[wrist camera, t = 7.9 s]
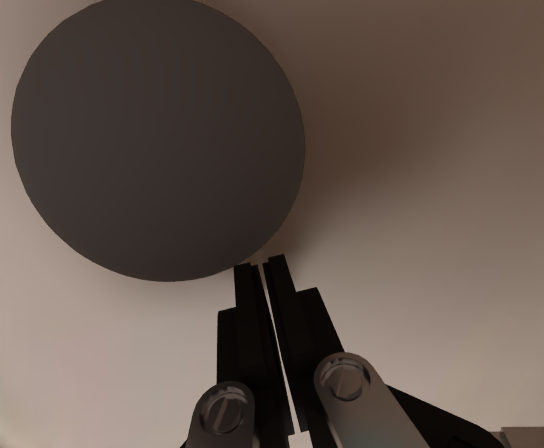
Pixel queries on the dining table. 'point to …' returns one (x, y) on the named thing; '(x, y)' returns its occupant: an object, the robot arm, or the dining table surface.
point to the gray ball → (158, 138)
